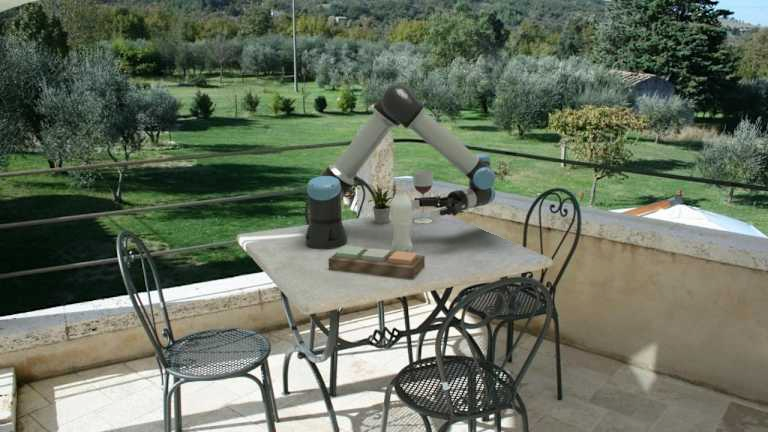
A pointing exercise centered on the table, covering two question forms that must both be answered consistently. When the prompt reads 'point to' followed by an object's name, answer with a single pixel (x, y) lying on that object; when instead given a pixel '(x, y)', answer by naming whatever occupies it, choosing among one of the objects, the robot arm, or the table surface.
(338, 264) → the keypad
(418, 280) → the table surface
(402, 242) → the water bottle
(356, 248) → the key sage
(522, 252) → the table surface
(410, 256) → the orange square block
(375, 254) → the key middle
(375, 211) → the house plant
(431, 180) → the wineglass
